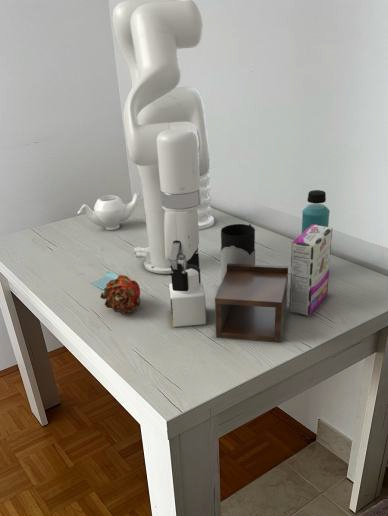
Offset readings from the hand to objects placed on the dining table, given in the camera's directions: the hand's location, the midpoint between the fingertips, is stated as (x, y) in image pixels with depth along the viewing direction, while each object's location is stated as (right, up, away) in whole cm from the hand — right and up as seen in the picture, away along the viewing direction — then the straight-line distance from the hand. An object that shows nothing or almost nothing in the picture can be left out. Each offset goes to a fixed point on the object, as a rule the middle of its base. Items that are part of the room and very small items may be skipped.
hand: (186, 280), depth 114 cm
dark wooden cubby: (+14, -9, +2) cm, 17 cm away
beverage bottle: (+31, +5, +22) cm, 38 cm away
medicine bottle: (0, -8, +6) cm, 10 cm away
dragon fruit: (-14, -5, +11) cm, 19 cm away
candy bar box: (+27, -4, +8) cm, 29 cm away
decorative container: (+2, +24, +56) cm, 61 cm away
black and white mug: (+13, +1, +17) cm, 22 cm away
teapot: (-24, +23, +56) cm, 65 cm away
